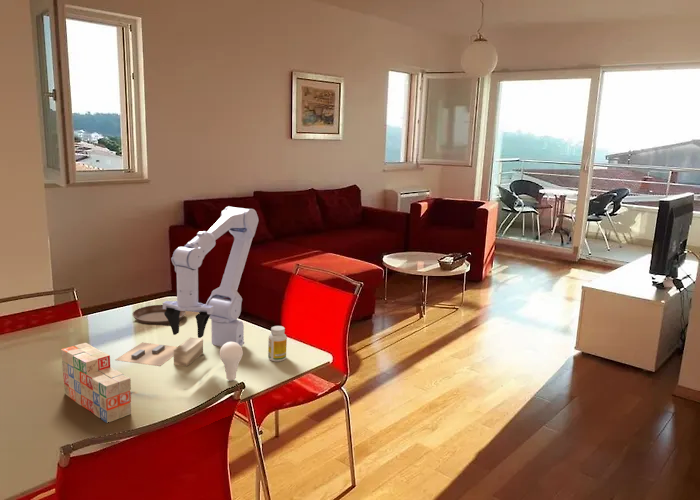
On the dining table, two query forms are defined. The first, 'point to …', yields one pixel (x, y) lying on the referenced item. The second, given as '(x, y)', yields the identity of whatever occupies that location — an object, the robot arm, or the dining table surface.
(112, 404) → the stack of blocks
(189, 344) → the block
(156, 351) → the small gray block
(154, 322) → the plant saucer
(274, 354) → the supplement bottle
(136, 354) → the grey rectangular block
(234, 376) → the lightbulb
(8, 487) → the dining table surface
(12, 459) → the dining table surface
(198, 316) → the robot arm
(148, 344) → the oak board
